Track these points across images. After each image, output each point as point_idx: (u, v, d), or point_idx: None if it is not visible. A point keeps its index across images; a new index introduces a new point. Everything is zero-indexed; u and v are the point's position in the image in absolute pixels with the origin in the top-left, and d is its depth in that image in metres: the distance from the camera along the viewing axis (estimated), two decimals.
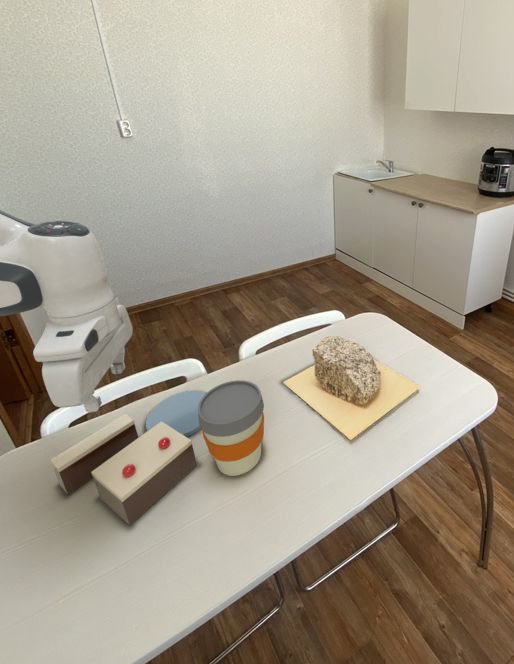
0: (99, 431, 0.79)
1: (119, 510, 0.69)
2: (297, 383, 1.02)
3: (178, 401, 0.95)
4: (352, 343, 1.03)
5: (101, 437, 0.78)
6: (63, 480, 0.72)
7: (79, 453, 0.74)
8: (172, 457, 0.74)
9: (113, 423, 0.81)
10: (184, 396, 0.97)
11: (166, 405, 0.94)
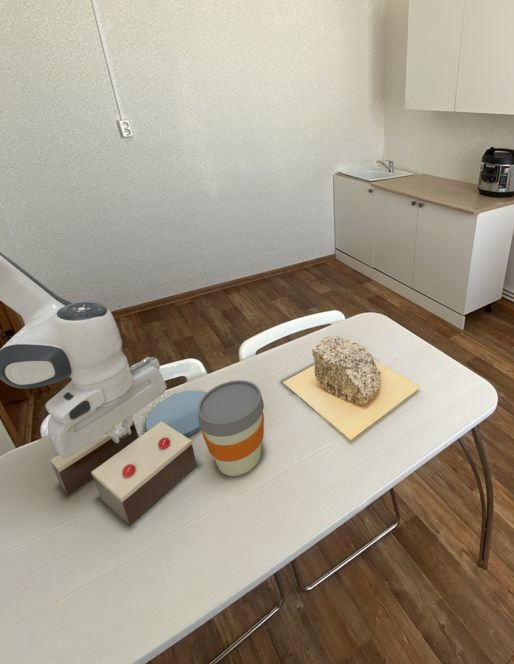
0: None
1: (119, 510, 0.69)
2: (297, 383, 1.02)
3: (178, 401, 0.95)
4: (352, 343, 1.03)
5: (101, 437, 0.78)
6: (63, 480, 0.72)
7: (79, 453, 0.74)
8: (172, 457, 0.74)
9: None
10: (184, 396, 0.97)
11: (166, 405, 0.94)
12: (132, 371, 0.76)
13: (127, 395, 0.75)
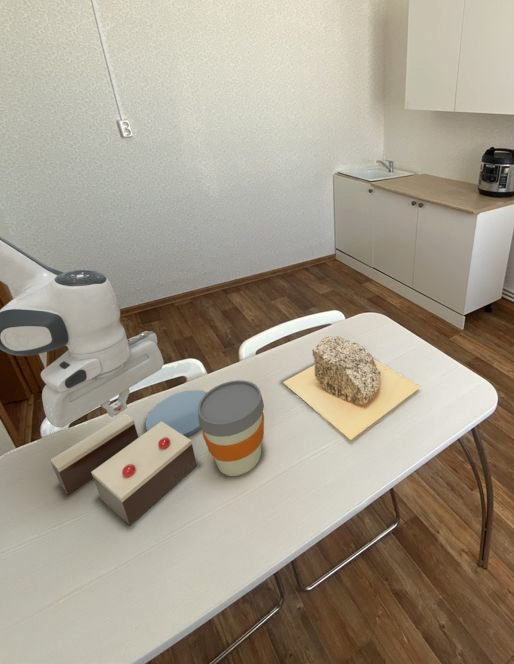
0: (99, 431, 0.79)
1: (119, 510, 0.69)
2: (297, 383, 1.02)
3: (178, 401, 0.95)
4: (352, 343, 1.03)
5: (101, 437, 0.78)
6: (63, 480, 0.72)
7: (79, 453, 0.74)
8: (172, 457, 0.74)
9: (113, 423, 0.81)
10: (184, 396, 0.97)
11: (166, 405, 0.94)
12: (129, 344, 0.75)
13: (124, 368, 0.74)
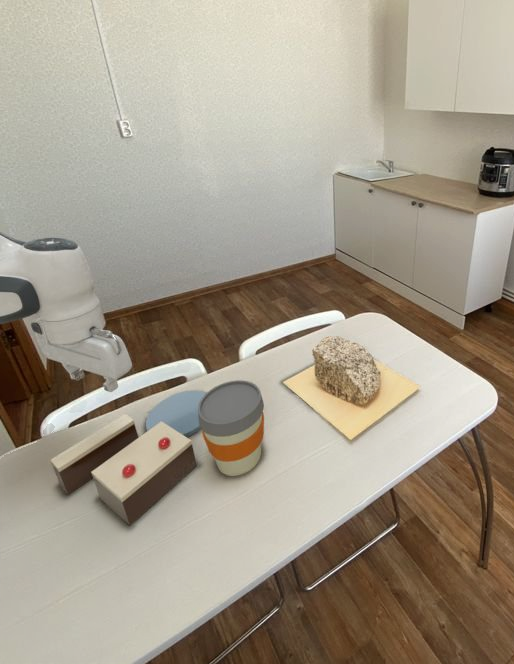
0: (99, 431, 0.79)
1: (119, 510, 0.69)
2: (297, 383, 1.02)
3: (178, 401, 0.95)
4: (352, 343, 1.03)
5: (101, 437, 0.78)
6: (63, 480, 0.72)
7: (79, 453, 0.74)
8: (172, 457, 0.74)
9: (113, 423, 0.81)
10: (184, 396, 0.97)
11: (166, 405, 0.94)
12: (92, 332, 0.69)
13: (82, 350, 0.70)
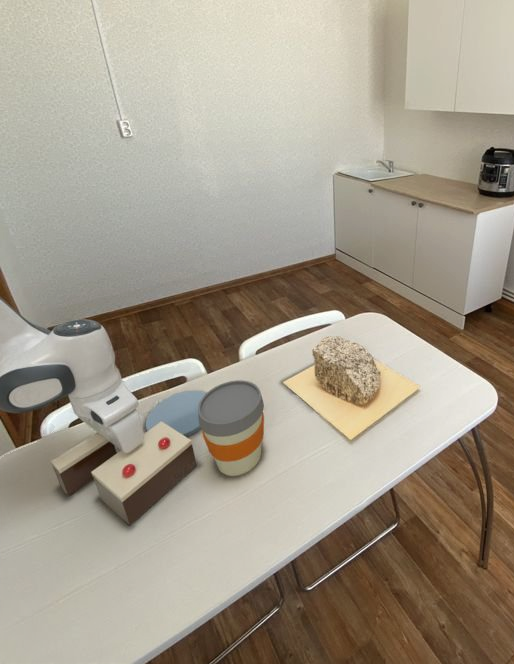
0: None
1: (119, 510, 0.69)
2: (297, 383, 1.02)
3: (178, 401, 0.95)
4: (352, 343, 1.03)
5: (102, 438, 0.78)
6: (64, 481, 0.72)
7: (80, 454, 0.74)
8: (172, 457, 0.74)
9: None
10: (184, 396, 0.97)
11: (166, 405, 0.94)
12: None
13: None
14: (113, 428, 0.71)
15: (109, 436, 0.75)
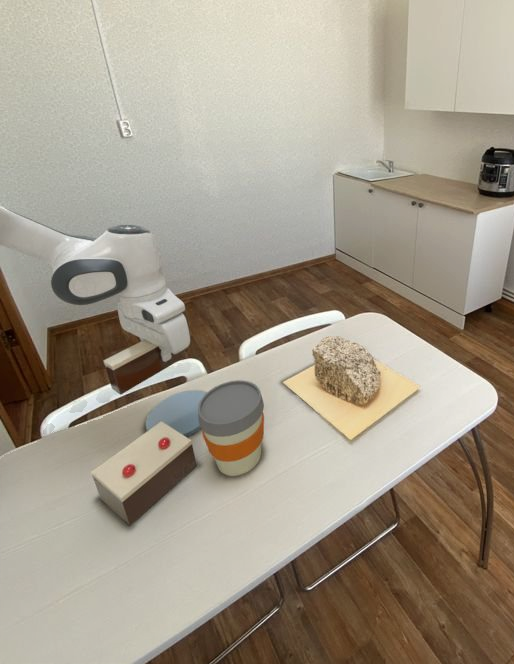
0: None
1: (119, 510, 0.69)
2: (297, 383, 1.02)
3: (178, 401, 0.95)
4: (352, 343, 1.03)
5: (149, 344, 0.81)
6: (116, 379, 0.76)
7: (130, 355, 0.77)
8: (172, 457, 0.74)
9: None
10: (184, 396, 0.97)
11: (166, 405, 0.94)
12: None
13: None
14: (163, 326, 0.74)
15: (157, 339, 0.78)
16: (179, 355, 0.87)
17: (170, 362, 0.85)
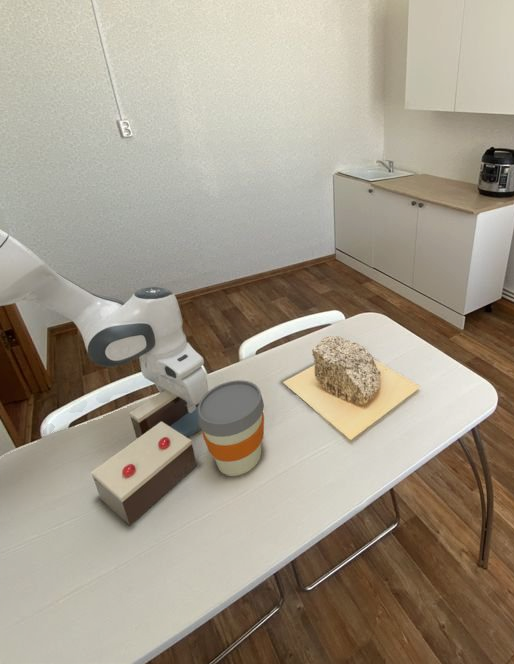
0: None
1: (119, 510, 0.69)
2: (297, 383, 1.02)
3: None
4: (352, 343, 1.03)
5: (170, 395, 0.87)
6: (142, 430, 0.82)
7: (154, 407, 0.84)
8: (172, 457, 0.74)
9: None
10: None
11: None
12: None
13: None
14: (185, 381, 0.81)
15: (178, 391, 0.85)
16: None
17: None
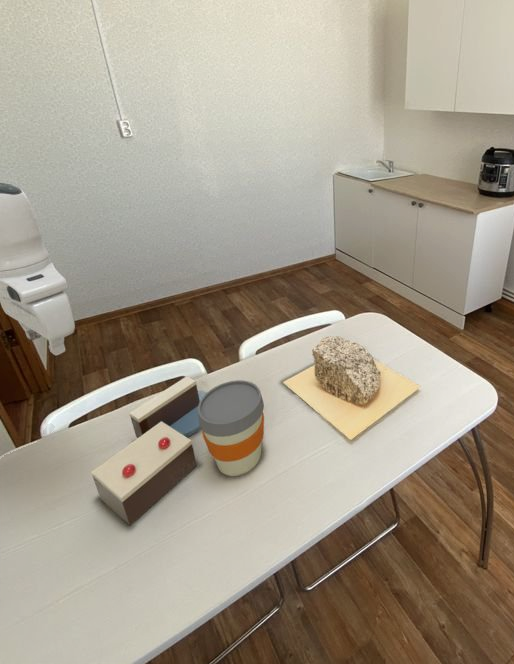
0: (167, 390, 0.89)
1: (119, 510, 0.69)
2: (297, 383, 1.02)
3: None
4: (352, 343, 1.03)
5: (170, 395, 0.87)
6: (142, 430, 0.82)
7: (154, 407, 0.84)
8: (172, 457, 0.74)
9: (178, 383, 0.91)
10: None
11: None
12: None
13: None
14: (33, 306, 0.61)
15: (34, 323, 0.65)
16: (196, 402, 0.93)
17: (188, 409, 0.91)
